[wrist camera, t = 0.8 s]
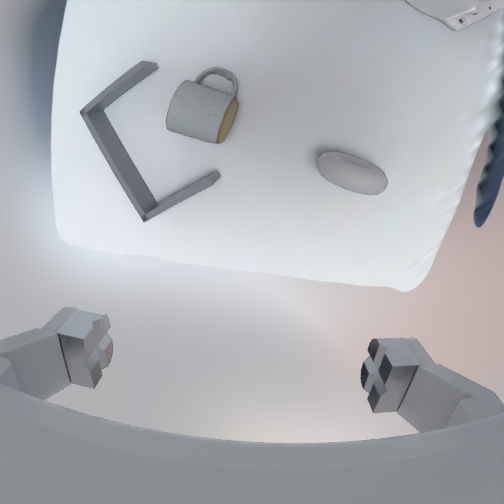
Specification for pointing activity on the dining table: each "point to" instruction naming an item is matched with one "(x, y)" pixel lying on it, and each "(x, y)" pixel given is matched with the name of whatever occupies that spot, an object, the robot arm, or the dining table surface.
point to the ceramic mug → (203, 109)
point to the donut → (352, 173)
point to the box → (119, 155)
